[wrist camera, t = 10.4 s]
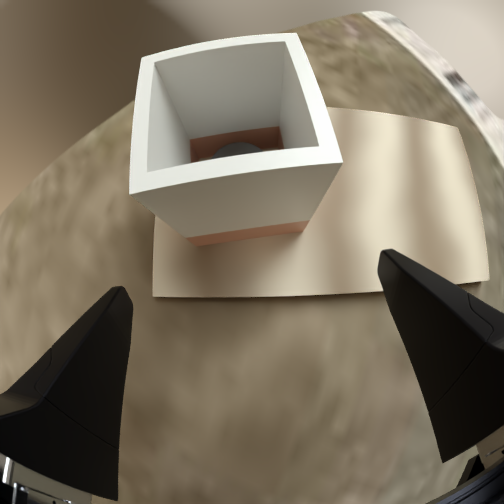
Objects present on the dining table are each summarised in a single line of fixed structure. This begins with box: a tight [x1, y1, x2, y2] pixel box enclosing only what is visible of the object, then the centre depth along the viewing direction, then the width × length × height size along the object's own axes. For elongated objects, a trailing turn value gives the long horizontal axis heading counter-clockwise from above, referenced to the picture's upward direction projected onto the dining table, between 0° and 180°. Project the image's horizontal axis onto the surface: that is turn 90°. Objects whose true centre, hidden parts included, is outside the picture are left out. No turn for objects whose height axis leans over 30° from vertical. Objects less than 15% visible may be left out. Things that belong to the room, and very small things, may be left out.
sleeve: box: [129, 33, 343, 247], centre depth 13 cm, size 6×6×9 cm
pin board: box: [153, 107, 489, 297], centre depth 16 cm, size 24×13×4 cm, turn 91°
